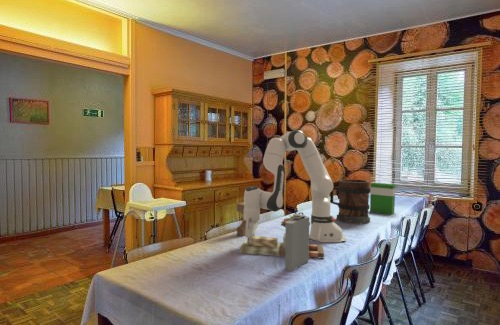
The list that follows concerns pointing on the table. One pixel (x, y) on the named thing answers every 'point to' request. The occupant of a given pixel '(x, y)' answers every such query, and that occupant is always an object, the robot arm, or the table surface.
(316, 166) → the robot arm
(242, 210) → the decorative block
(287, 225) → the flask
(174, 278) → the table surface
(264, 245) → the birch bar
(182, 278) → the table surface
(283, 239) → the tunnel
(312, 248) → the track deck
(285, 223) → the plant
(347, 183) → the wooden tankard
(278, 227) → the table surface
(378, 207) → the hardback book
